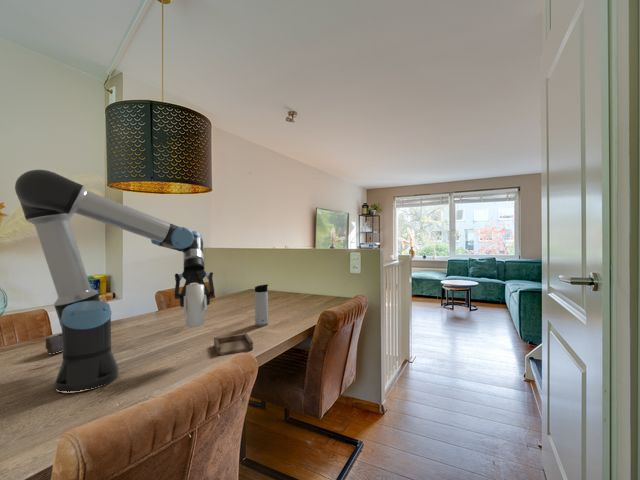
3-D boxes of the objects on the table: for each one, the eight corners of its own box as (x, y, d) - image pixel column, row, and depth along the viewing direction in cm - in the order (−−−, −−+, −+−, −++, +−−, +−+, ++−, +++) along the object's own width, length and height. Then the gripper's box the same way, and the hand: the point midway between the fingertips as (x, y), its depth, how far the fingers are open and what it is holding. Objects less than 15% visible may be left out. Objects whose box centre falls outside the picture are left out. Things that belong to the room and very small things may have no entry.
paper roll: (185, 327, 103) (186, 286, 103) (185, 323, 108) (185, 284, 109) (204, 325, 106) (204, 285, 106) (203, 321, 111) (203, 283, 111)
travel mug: (265, 326, 145) (265, 285, 145) (253, 326, 146) (252, 285, 146) (270, 323, 151) (270, 283, 151) (258, 322, 152) (257, 283, 152)
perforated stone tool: (76, 343, 125) (76, 327, 125) (88, 343, 125) (87, 327, 125) (39, 357, 110) (38, 339, 110) (51, 358, 110) (51, 339, 110)
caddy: (217, 355, 109) (217, 347, 109) (214, 345, 120) (213, 338, 120) (252, 349, 115) (252, 342, 115) (246, 340, 125) (246, 333, 125)
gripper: (218, 268, 125) (222, 316, 110) (167, 270, 117) (165, 321, 102) (219, 256, 120) (224, 304, 105) (166, 257, 112) (164, 309, 97)
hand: (195, 312), depth 104 cm, fingers closed on paper roll, 6 cm apart
